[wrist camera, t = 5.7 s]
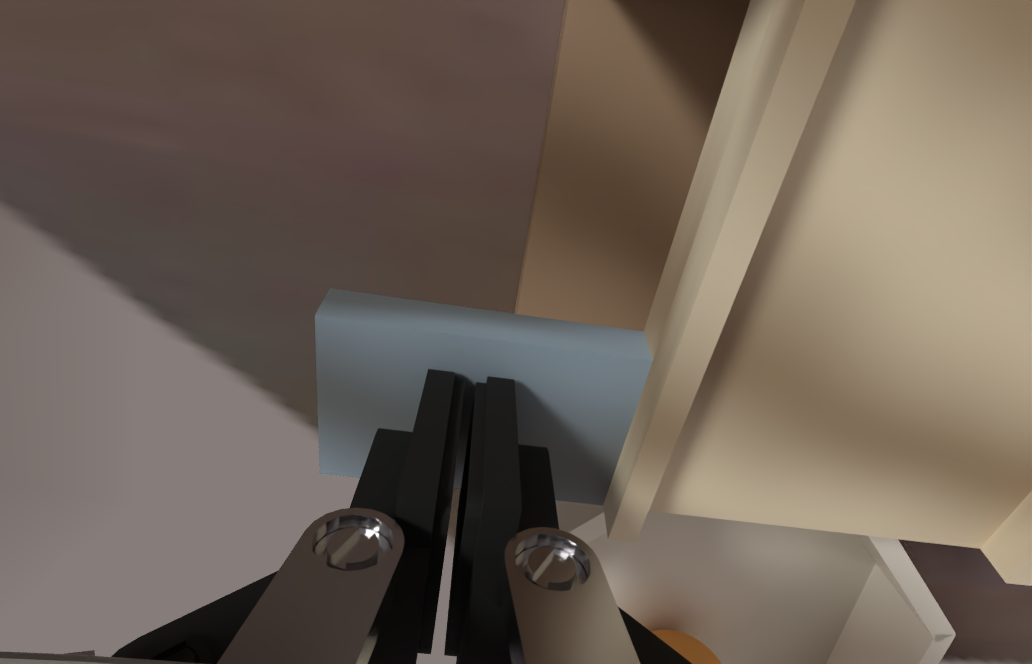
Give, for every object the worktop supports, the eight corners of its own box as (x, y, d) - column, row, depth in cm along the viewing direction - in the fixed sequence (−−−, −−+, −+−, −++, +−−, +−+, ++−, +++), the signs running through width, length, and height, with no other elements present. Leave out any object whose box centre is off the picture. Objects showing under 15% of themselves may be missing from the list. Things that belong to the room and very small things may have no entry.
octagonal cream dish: (496, 381, 19) (495, 456, 15) (930, 437, 20) (1028, 519, 16) (446, 698, 24) (436, 809, 20) (788, 728, 25) (837, 838, 22)
